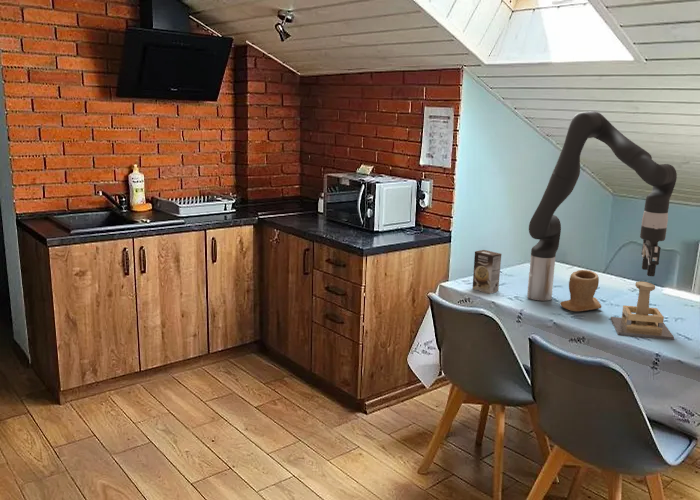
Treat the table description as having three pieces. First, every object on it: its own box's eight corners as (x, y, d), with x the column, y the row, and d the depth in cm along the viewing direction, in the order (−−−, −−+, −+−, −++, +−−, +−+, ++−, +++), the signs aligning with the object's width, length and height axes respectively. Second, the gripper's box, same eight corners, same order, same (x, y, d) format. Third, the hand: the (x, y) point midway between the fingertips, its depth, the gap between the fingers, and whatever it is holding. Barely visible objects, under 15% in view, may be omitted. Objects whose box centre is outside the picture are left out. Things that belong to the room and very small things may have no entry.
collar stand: (617, 334, 204) (620, 316, 203) (610, 319, 219) (612, 302, 218) (673, 340, 200) (676, 321, 198) (662, 323, 215) (664, 306, 214)
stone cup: (575, 316, 222) (579, 276, 218) (555, 306, 233) (559, 268, 230) (610, 312, 226) (614, 273, 223) (588, 303, 237) (592, 265, 234)
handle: (639, 322, 213) (644, 281, 210) (653, 328, 207) (658, 286, 204) (628, 323, 212) (632, 282, 208) (641, 330, 206) (646, 287, 202)
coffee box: (471, 289, 254) (473, 251, 250) (481, 286, 258) (483, 249, 255) (489, 294, 247) (492, 255, 244) (499, 291, 252) (502, 253, 248)
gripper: (637, 220, 209) (631, 266, 213) (646, 228, 195) (640, 277, 199) (661, 222, 207) (655, 268, 211) (672, 230, 194) (665, 279, 197)
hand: (647, 272), depth 205 cm, fingers open, 8 cm apart
